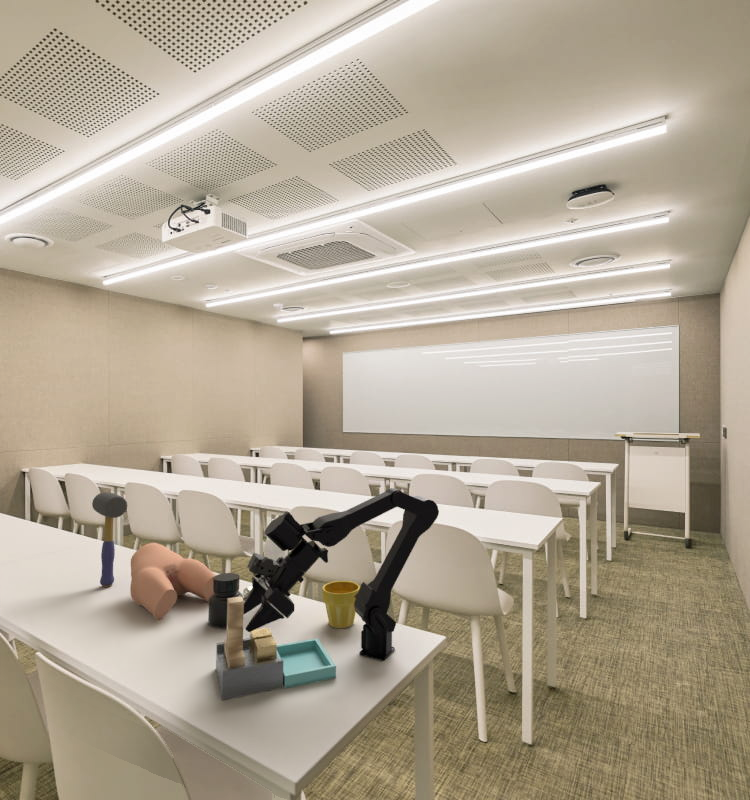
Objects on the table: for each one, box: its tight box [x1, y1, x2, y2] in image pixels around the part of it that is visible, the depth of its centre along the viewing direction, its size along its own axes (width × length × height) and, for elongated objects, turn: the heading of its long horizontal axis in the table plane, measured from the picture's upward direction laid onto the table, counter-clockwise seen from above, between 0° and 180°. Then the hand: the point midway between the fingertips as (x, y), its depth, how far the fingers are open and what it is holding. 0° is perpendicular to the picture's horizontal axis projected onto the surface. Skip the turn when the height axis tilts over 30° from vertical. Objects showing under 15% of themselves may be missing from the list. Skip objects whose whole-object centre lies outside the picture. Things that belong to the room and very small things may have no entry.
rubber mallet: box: [91, 491, 128, 588], centre depth 158 cm, size 12×8×30 cm, turn 48°
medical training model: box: [129, 542, 217, 620], centre depth 146 cm, size 21×25×13 cm
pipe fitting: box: [242, 585, 252, 599], centre depth 151 cm, size 8×4×7 cm
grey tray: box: [215, 637, 284, 701], centre depth 103 cm, size 12×13×6 cm
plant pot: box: [321, 580, 361, 629], centre depth 131 cm, size 10×10×10 cm
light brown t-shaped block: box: [224, 596, 245, 668], centre depth 102 cm, size 3×9×12 cm, turn 23°
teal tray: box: [277, 638, 337, 689], centre depth 108 cm, size 11×14×2 cm
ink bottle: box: [207, 572, 244, 628], centre depth 132 cm, size 10×9×12 cm
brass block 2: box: [254, 636, 278, 663], centre depth 102 cm, size 4×4×4 cm
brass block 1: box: [249, 627, 273, 657], centre depth 107 cm, size 4×4×4 cm
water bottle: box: [263, 517, 289, 561], centre depth 144 cm, size 7×7×25 cm
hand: (243, 621), depth 103 cm, fingers open, 9 cm apart
